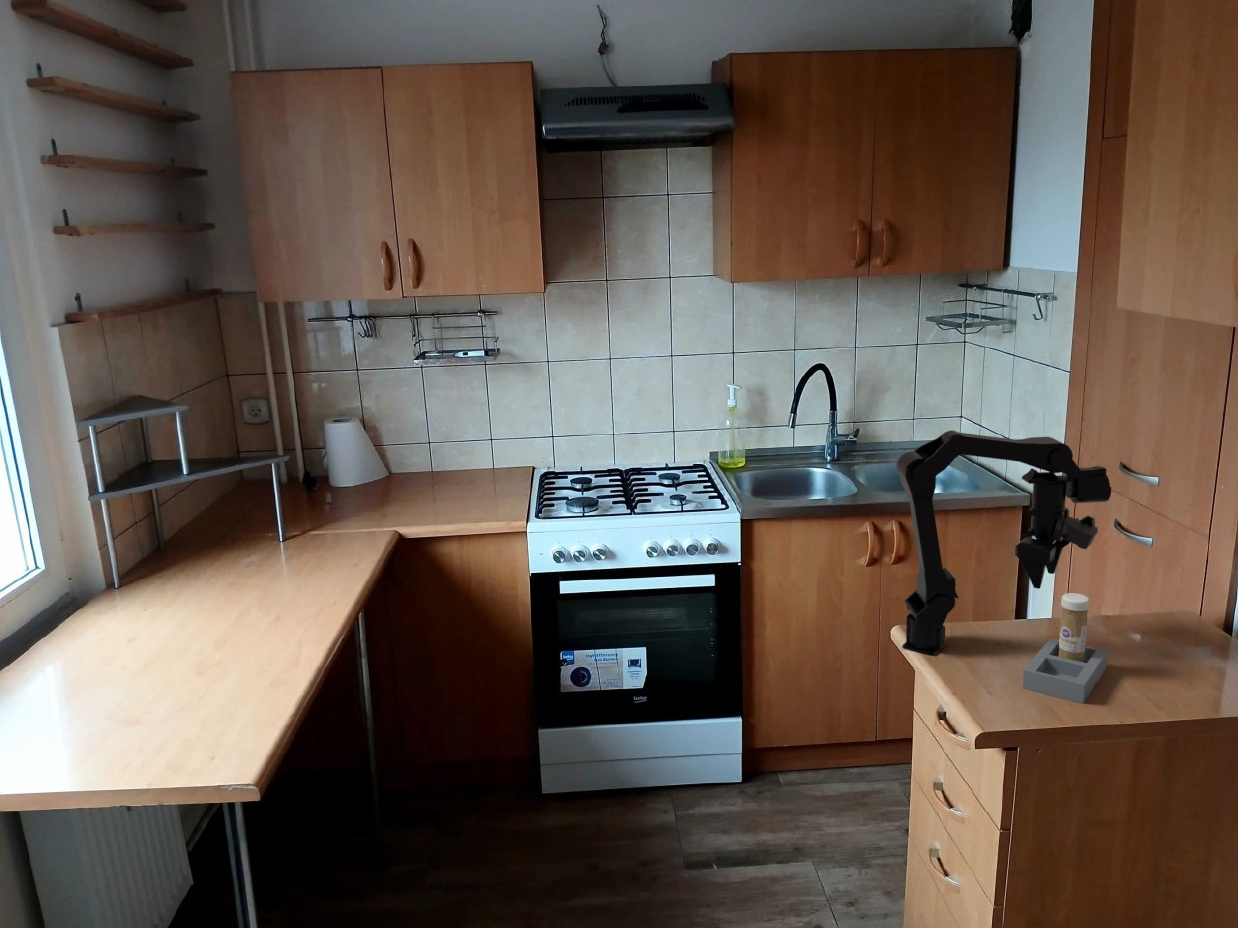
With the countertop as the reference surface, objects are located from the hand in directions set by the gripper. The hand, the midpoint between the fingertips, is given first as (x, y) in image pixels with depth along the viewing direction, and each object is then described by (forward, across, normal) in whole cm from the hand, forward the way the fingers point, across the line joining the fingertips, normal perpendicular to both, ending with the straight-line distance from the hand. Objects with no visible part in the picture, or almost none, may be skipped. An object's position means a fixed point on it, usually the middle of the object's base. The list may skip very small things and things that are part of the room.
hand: (1044, 580), depth 179 cm
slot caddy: (+13, -13, -8) cm, 20 cm away
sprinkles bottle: (+12, -9, -8) cm, 17 cm away
